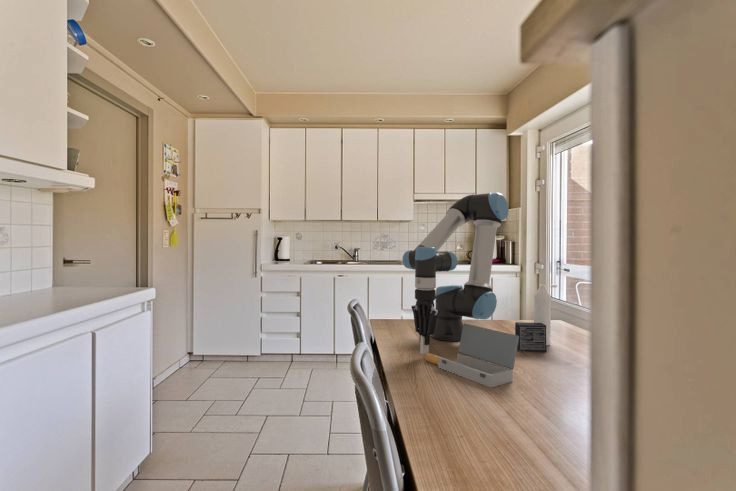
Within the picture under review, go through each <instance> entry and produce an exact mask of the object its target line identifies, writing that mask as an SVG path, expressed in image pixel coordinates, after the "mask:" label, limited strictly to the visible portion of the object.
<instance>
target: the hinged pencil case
mask: <svg viewBox="0 0 736 491" xmlns="http://www.w3.org/2000/svg"><path fill="white" fill-rule="evenodd" d="M437 368H438V369H440V368H441V369H440V370H443V369H444V371H446V370H447V371H446V372H448V371H449V373H451V372H452V374H453V373H455V374H454V375H456V374H457V376H460V377H461V376H462V377H461V378H464V377H465V378H464V379H467V380H469V379H470V380H469V381H472V382H474V381H475V383H477V384H480V385H482V384H483V386H485V387H488V388H490V389H491V388H494V387H499V386H502V385H505V384H508V383H512V382H513V373H514V369H513V370H512V369H509V368H506V367H503V366H499V365H496V364H493V363H490V362H487V361H484V360H480V359H477V358H474V357H471V356H468V355H465V354H462V353H459V352H458V353H456V361H453V360H451V359H448V358H445V357H442V356H439V357H438V365H437Z"/></svg>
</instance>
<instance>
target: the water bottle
mask: <svg viewBox="0 0 736 491" xmlns="http://www.w3.org/2000/svg"><path fill="white" fill-rule="evenodd" d="M550 288H558V284H550ZM533 300H534V301H533V302H534V306H533V310H534V311H533V312H534V313H533V318H534V319H533V323H543V324H544V325H546V347H547V346H551V342H552V340H551V332H552V331H551V330H552V328H551V324H552V322H551V320H552V319H551V318H552V316H551V314H552V296H551V293H550V292H549V291H548V289H547V285H546V284H542V283H541V284H539V288H538V289H537V291H536V292H535V294H534V295H533Z"/></svg>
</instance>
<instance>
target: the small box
mask: <svg viewBox="0 0 736 491" xmlns="http://www.w3.org/2000/svg"><path fill="white" fill-rule="evenodd" d="M514 324H515V325H514V330H515V331H514V332H515V334H514V335H517V336H519V340H518V345H517V351H518V352H525V353H526V352H534V353H536V352H537V353H547V346H546V325H544V324H543V323H534V322H524V321H523V322H521V321H517V322H514Z"/></svg>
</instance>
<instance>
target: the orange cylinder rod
mask: <svg viewBox="0 0 736 491" xmlns="http://www.w3.org/2000/svg"><path fill="white" fill-rule="evenodd" d="M438 357H440V356H439V355H436V354H434V353H430V352H429V353H426V354H424V360H425V362H428V363H430V364H433V365H436V366H438Z"/></svg>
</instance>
